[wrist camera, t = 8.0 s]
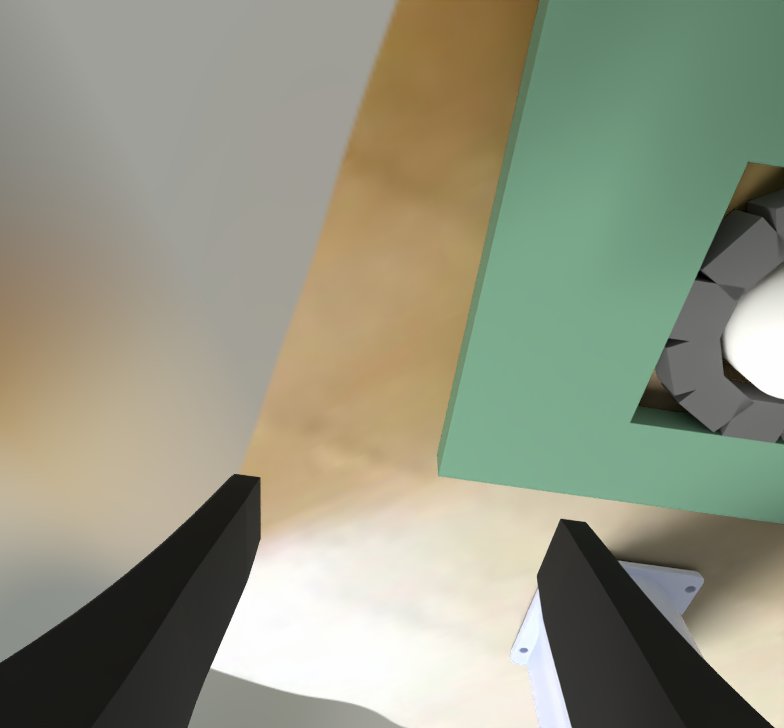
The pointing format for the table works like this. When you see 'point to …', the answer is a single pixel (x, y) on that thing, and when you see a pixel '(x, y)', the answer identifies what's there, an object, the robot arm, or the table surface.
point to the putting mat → (628, 262)
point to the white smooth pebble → (759, 334)
